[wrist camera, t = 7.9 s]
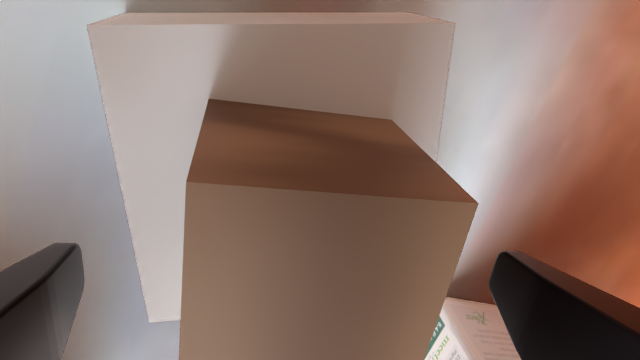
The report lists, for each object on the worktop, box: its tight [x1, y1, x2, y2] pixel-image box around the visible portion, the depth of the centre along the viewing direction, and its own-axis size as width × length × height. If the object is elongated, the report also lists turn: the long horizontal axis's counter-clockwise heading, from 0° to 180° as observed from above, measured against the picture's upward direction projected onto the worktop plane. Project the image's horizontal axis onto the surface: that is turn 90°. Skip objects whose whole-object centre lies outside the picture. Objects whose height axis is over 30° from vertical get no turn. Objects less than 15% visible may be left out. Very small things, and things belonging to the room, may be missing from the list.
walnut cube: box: [179, 99, 478, 360], centre depth 10 cm, size 5×5×5 cm
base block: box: [87, 12, 455, 323], centre depth 14 cm, size 9×9×4 cm
